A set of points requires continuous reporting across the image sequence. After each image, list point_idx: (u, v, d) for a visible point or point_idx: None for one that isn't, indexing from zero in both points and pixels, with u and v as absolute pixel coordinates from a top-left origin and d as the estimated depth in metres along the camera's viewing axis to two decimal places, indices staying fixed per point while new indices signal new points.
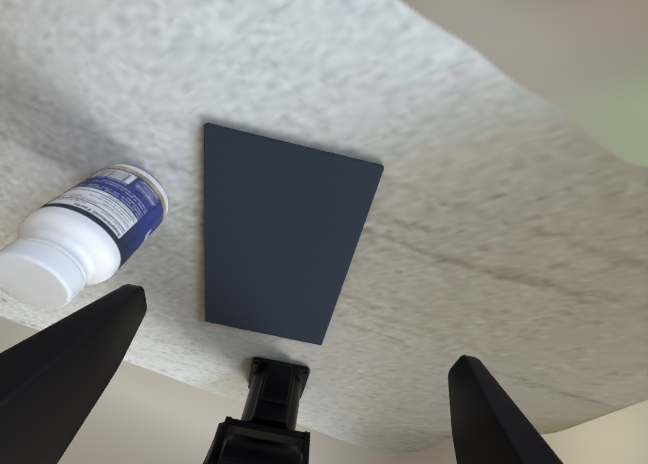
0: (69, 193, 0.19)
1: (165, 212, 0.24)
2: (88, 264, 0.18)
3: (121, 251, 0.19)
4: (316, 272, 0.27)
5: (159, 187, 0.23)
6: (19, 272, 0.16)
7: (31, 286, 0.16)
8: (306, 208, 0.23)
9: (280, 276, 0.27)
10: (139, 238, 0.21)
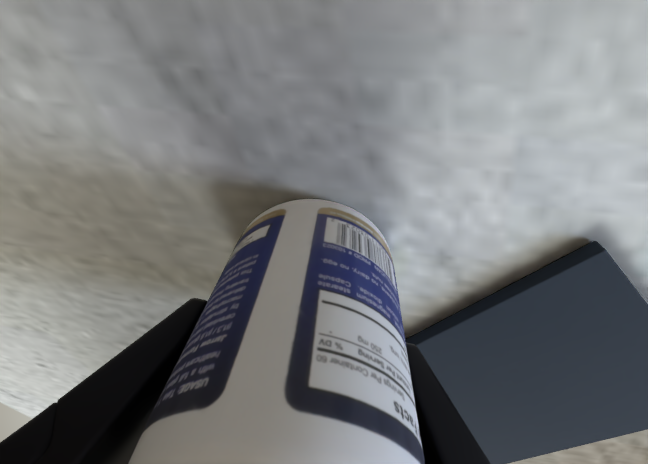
0: (343, 328, 0.06)
1: None
2: None
3: None
4: None
5: None
6: None
7: None
8: (572, 400, 0.14)
9: None
10: None
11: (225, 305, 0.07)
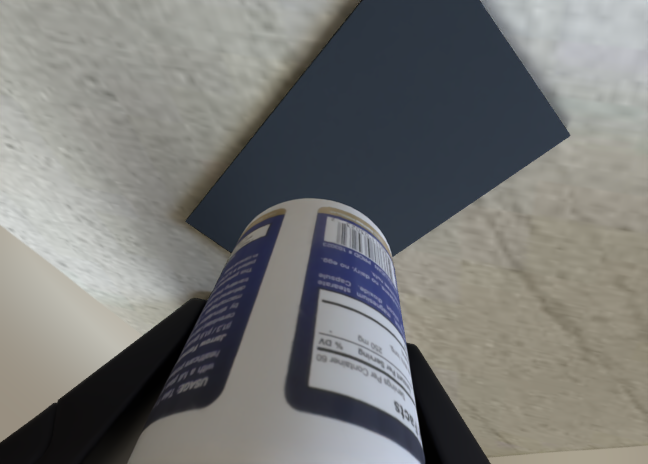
0: (344, 328, 0.06)
1: None
2: None
3: None
4: (385, 223, 0.20)
5: None
6: None
7: None
8: (446, 136, 0.17)
9: None
10: None
11: (225, 304, 0.06)
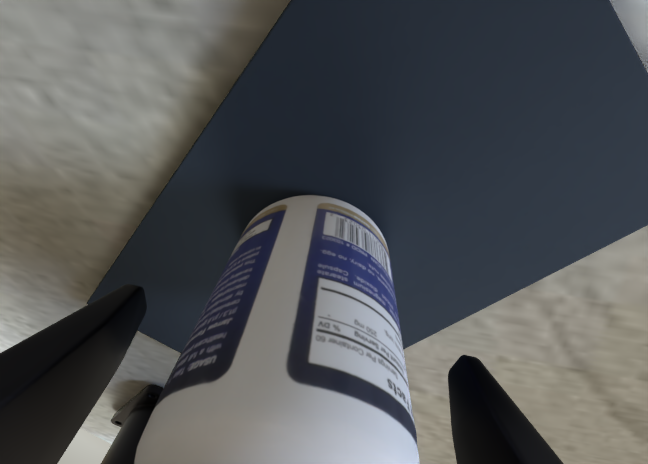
0: (341, 312, 0.06)
1: None
2: None
3: None
4: None
5: None
6: None
7: None
8: (487, 192, 0.10)
9: None
10: None
11: (230, 292, 0.07)
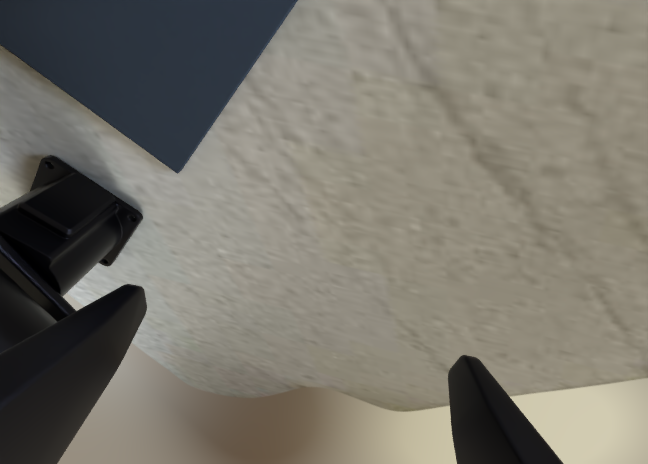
0: None
1: None
2: None
3: None
4: None
5: None
6: None
7: None
8: None
9: None
10: None
11: None
